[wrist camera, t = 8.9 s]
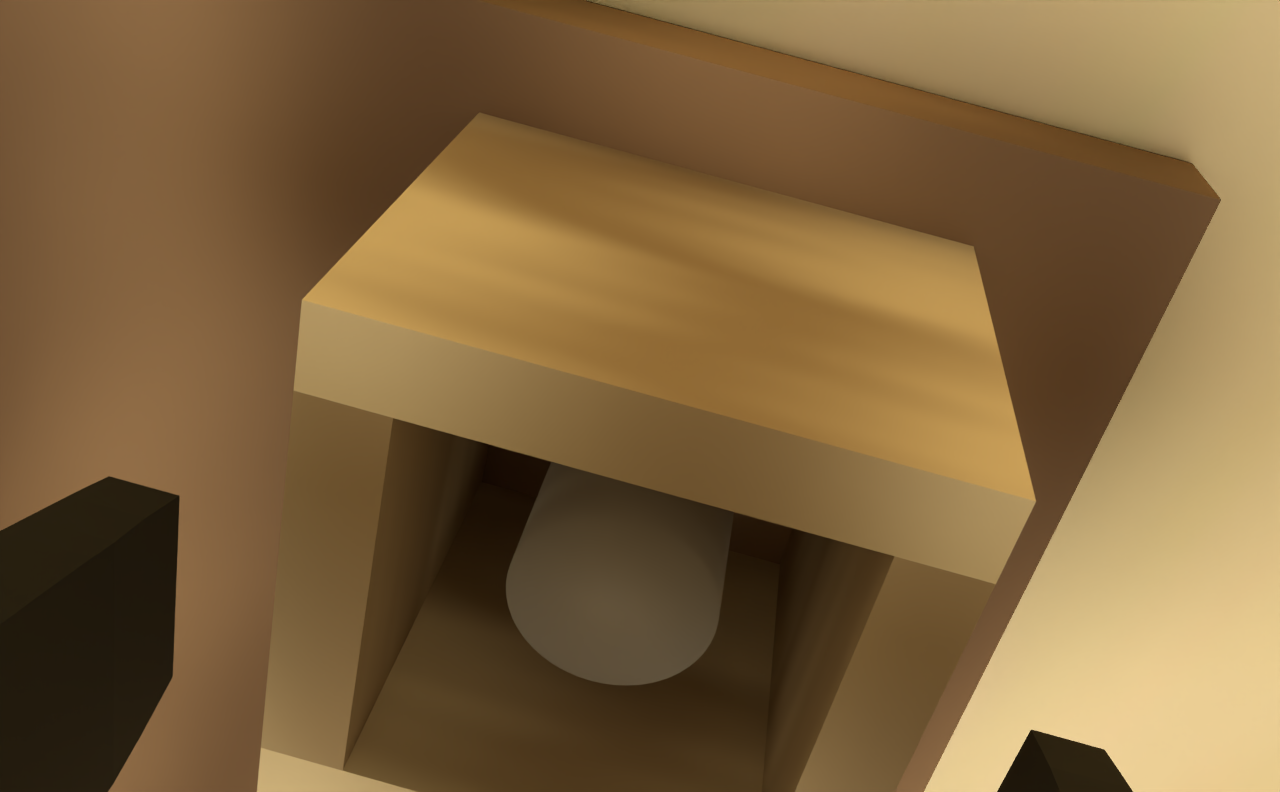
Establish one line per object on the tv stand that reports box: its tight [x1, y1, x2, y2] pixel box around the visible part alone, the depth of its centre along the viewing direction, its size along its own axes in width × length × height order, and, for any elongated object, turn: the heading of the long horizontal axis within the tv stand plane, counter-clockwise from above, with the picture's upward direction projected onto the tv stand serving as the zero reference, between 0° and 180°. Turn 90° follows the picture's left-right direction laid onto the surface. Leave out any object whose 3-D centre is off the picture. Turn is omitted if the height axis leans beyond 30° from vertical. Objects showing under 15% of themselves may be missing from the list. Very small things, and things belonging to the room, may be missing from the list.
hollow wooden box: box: [257, 113, 1036, 792], centre depth 12 cm, size 6×6×5 cm
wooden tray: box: [0, 0, 1221, 792], centre depth 15 cm, size 18×14×5 cm
